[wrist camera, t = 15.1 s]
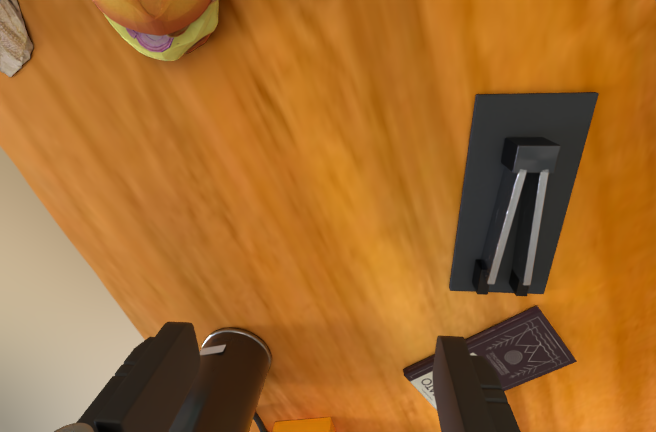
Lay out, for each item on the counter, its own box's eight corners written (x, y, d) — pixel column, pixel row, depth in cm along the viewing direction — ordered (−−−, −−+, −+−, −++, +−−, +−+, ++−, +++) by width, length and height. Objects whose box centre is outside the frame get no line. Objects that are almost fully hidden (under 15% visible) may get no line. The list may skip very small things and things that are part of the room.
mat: (541, 290, 40) (543, 294, 39) (449, 287, 41) (450, 290, 40) (595, 92, 31) (599, 92, 30) (475, 94, 32) (477, 94, 31)
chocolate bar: (576, 361, 42) (442, 416, 48) (572, 355, 43) (441, 409, 49) (540, 311, 40) (403, 375, 46) (536, 305, 40) (403, 369, 46)
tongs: (495, 137, 33) (508, 145, 30) (553, 137, 32) (571, 145, 29) (471, 282, 39) (479, 300, 37) (518, 283, 39) (530, 302, 36)
